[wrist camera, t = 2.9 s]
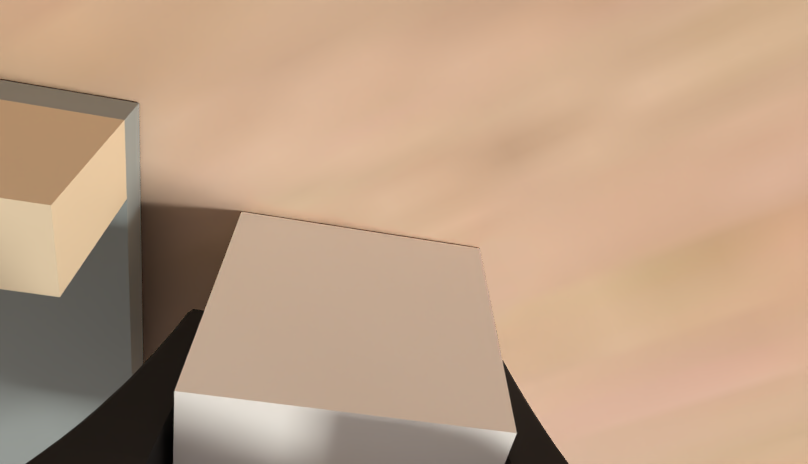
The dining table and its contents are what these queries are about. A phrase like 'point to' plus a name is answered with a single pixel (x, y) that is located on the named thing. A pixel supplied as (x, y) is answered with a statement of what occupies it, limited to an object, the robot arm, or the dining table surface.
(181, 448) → the cabinet block
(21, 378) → the board
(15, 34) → the dining table surface
